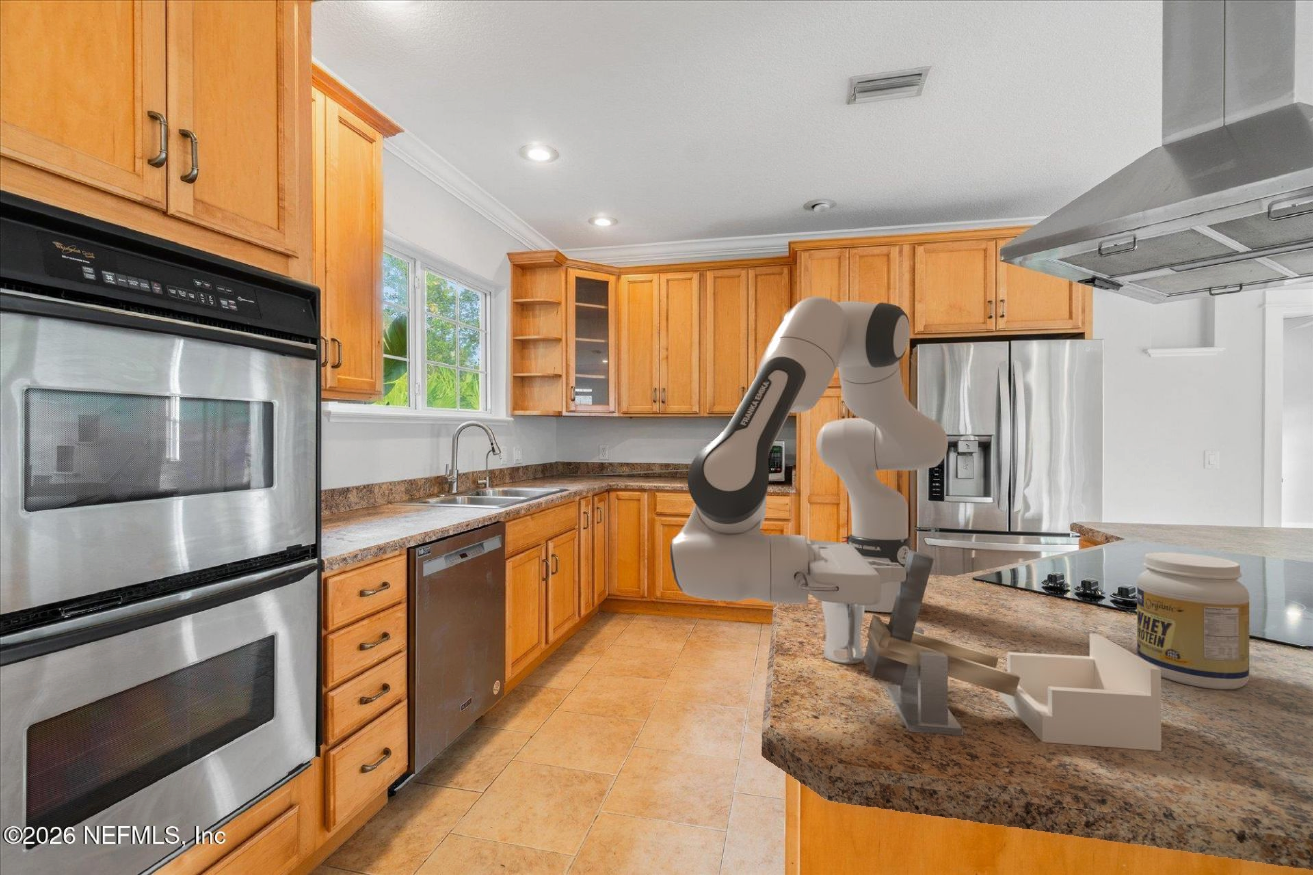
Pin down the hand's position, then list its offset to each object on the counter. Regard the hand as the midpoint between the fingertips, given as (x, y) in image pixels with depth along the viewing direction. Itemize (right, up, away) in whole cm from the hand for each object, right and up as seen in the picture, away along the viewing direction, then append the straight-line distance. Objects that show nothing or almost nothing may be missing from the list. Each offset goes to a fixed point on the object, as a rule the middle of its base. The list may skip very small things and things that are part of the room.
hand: (903, 572), depth 75 cm
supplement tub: (+47, -18, +11) cm, 51 cm away
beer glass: (-2, -18, +18) cm, 25 cm away
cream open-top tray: (+19, -17, -3) cm, 26 cm away
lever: (+3, -14, -1) cm, 15 cm away
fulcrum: (+2, -18, 0) cm, 18 cm away
